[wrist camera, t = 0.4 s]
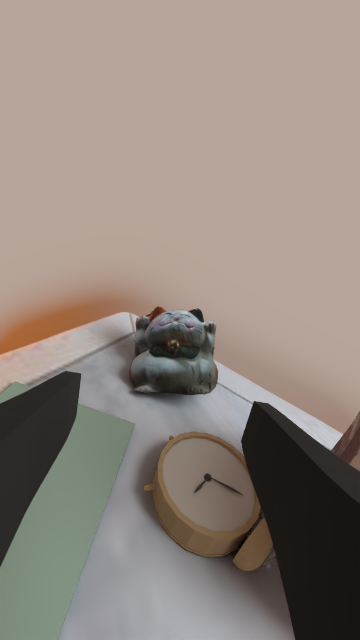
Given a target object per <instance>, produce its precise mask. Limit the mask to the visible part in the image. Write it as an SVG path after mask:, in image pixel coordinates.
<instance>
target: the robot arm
mask: <svg viewBox="0 0 360 640" xmlns="http://www.w3.org/2000/svg"><path fill="white" fill-rule="evenodd" d="M80 380H81V374H80V373H74V372H68V371H65V372H63V373H61V374H59V375H57V376H55V377H53V378H51V379H49V380H47V381H45V382H43V383H41V384H40V385H38V386H36V387H34V388H32V389H30V390H28V391H26V392H24V393H22V394H20V395H17V396H15V397H13V398H11V399H9V400H7V401H4V402H2V403H0V567H1V565H2V563H3V560H4V558H5V556H6V554H7V552H8V549H9V547H10V545H11V543H12V541H13V539H14V536H15V534H16V532H17V530H18V528H19V526H20V524H21V522H22V519H23V517H24V515H25V513H26V511H27V509H28V507H29V506H30V504H31V502H32V500H33V498H34V496H35V495H36V493H37V491H38V489H39V488H40V486H41V484H42V482H43V481H44V479H45V477H46V476H47V474H48V472H49V470H50V469H51V467H52V465H53V463H54V462H55V460H56V458H57V457H58V455H59V453H60V451H61V450H62V448H63V446H64V444H65V442H66V441H67V438H68V436H69V434H70V431H71V429H72V427H73V424H74V422H75V419H76V416H77V407H78V398H79V389H80ZM241 443H242V448H243V453H244V458H245V462H246V466H247V469H248V472H249V475H250V478H251V481H252V483H253V486H254V489H255V492H256V495H257V498H258V500H259V503H260V506H261V509H262V512H263V515H264V517H265V520H266V523H267V526H268V529H269V532H270V536H271V539H272V542H273V546H274V550H275V554H276V558H277V562H278V566H279V570H280V574H281V578H282V582H283V586H284V591H285V595H286V599H287V603H288V608H289V612H290V617H291V621H292V626H293V631H294V636H295V640H360V471H359V470H357V469H356V468H354V467H352V466H351V465H349V464H348V463H346V462H345V461H343V460H342V459H341V458H339V457H338V456H336V455H335V454H334V453H332V452H331V451H329V450H328V449H327V448H325V447H324V446H323V445H321V444H320V443H319V442H317V441H316V440H315V439H313V438H312V437H311V436H310V435H308V434H307V433H306V432H305V431H303V430H302V429H301V428H299V427H298V426H297V425H296V424H294V423H293V422H292V421H291V420H290V419H288V418H287V417H286V416H285V415H283V414H282V413H281V412H279V411H278V410H277V409H275V408H274V407H273V406H271V405H270V404H268V403H262V402H256V401H254V403H253V406H252V409H251V412H250V415H249V418H248V421H247V424H246V428H245V431H244V434H243V437H242V440H241Z"/></svg>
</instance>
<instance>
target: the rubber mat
mask: <svg viewBox="0 0 360 640" xmlns="http://www.w3.org/2000/svg"><path fill="white" fill-rule="evenodd" d="M30 389H32V387H29V386H26V385H23V384H21V383H18V382H14V383H13V384H12V385H10V386H9V387H8V388H7V389H6V390H5V391H4V392H2V393H1V394H0V403H2V402H4V401H7V400H9V399H11V398H13V397H15V396H17V395H20V394H22V393H24V392H26V391H28V390H30ZM134 425H135V424H134V423H131V422H129V421H126V420H123V419H120V418H117V417H114V416H112V415H109V414H106V413H103V412H100V411H97V410H94V409H92V408H89V407H86V406H83V405H80V404H78V407H77V416H76V419H75V422H74V424H73V427H72V429H71V431H70V434H69V436H68V438H67V441H66V442H65V444H64V446H63V448H62V450H61V451H60V453H59V455H58V457H57V458H56V460H55V462H54V463H53V465H52V467H51V469H50V470H49V472H48V474H47V476H46V477H45V479H44V481H43V482H42V484H41V486H40V488H39V489H38V491H37V493H36V495H35V496H34V498H33V500H32V502H31V504H30V506H29V507H28V509H27V511H26V513H25V515H24V517H23V519H22V522H21V524H20V526H19V528H18V530H17V532H16V534H15V536H14V539H13V541H12V543H11V545H10V547H9V549H8V552H7V554H6V556H5V558H4V560H3V563H2V565H1V567H0V640H57V639H58V637H59V634H60V631H61V628H62V625H63V623H64V620H65V617H66V614H67V612H68V609H69V606H70V603H71V600H72V598H73V595H74V592H75V589H76V586H77V584H78V581H79V578H80V575H81V573H82V570H83V567H84V564H85V561H86V559H87V556H88V553H89V550H90V548H91V545H92V542H93V539H94V536H95V534H96V531H97V528H98V525H99V523H100V520H101V517H102V514H103V511H104V509H105V506H106V503H107V500H108V498H109V495H110V492H111V489H112V486H113V484H114V481H115V478H116V475H117V473H118V470H119V467H120V464H121V461H122V459H123V456H124V453H125V450H126V447H127V445H128V442H129V439H130V436H131V434H132V431H133V428H134Z"/></svg>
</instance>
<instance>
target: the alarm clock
mask: <svg viewBox="0 0 360 640" xmlns="http://www.w3.org/2000/svg"><path fill="white" fill-rule="evenodd" d="M169 439H170V441H169V442H168V444H167V445H166V446H165V447H164V449H163V450H162V452H161V455H160V458H159V462H158V465H157V467H156V470H155V473H154V477H153V480H152V484H148V485H144V487H143V489H144V490H145V491H152V500H153V504H154V507H155V511H156V514H157V517H158V519H159V521H160V523H161V524H162V526H163V527H164V529H165V530H166V532H167V534H168V535H169V536H170V537H171V538H172V539H173V540H175V541H176V542H177V543H178V544H179V545H180V546H182V547H183V548H184V549H185V550H188V551H190V552H193V553H195V554H198V555H200V556H203V557H222V556H224V555H226V554H229V553H231V552H233V551H235V550H237V549H238V547H239V546H240V545H241V543H242V542H243V541H244V539H245V538H246V537H247V538H248V539H247V540H246V541H245V543H244V544H243V546H242V547H241V549H240V550H239V551H238V553H237V555H236V556H235V558H234V559H233V561H232V562H233V563H234V564H235V565H236V566H237V567H238V568H240V569H241V570H244V571H252V570H255V569H257V568H258V567H259V566H261V565H262V564H263V565H262V567H263V566H264V565H265V566H266V567H267V568H268V569H269V568H270V567H271V566H272V565H271V562H270V560H269V559H270V558H273V557H276V554H275V550H274V551H273V552H272V553H271V554H270V555H269V553H270V551H271V548H272V544H273V542H272V539H271V536H270V532H269V529H268V526H267V523H266V520H265V517H264V515H263V512H262V509H261V506H260V503H259V500H258V498H257V495H256V492H255V489H254V486H253V483H252V481H251V478H250V475H249V472H248V469H247V466H246V462H245V458H244V456H243V455H242V454H241V453H240V452H238V451H237V450H236V449H235V448H234V447H233V446H232V445H230V444H229V443H227V442H225V441H224V440H222V439H221V438H218V437H216V436H213V435H210V434H207V433H199V432H190V433H185V434H180V435H179V436H177V437H175V438H174V437H172V436H170V437H169ZM260 511H261V513H260ZM259 515H260V518H261V521H260V522H259V524H258V525H257V526H256V528H255V529H254V530H253V532H252V533H251V534H249V533H248V532H249V531H250V529H251V528H252V526H253V525H254V523H255V522H256V521H257V519H258V517H259ZM268 555H269V557H268ZM267 557H268V558H267Z"/></svg>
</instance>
